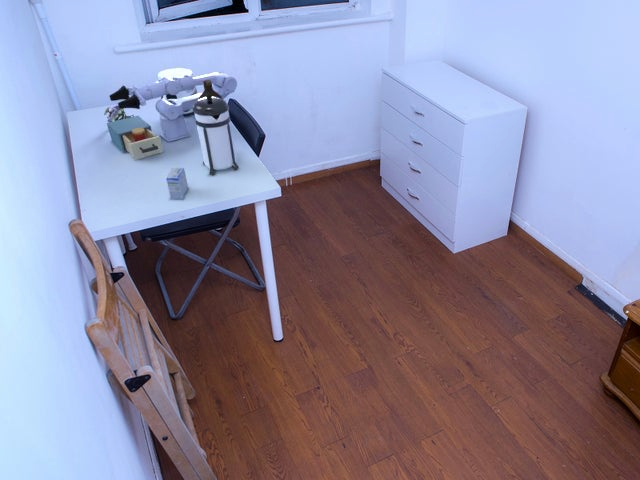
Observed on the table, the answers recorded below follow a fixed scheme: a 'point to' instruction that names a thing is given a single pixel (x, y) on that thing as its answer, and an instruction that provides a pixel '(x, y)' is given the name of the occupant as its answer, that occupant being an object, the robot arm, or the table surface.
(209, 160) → the coffee press
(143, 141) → the drawer
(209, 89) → the olive oil
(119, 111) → the passion flower
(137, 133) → the tea tin
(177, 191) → the medicine box
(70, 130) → the table surface
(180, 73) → the milk container
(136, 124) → the cabinet
